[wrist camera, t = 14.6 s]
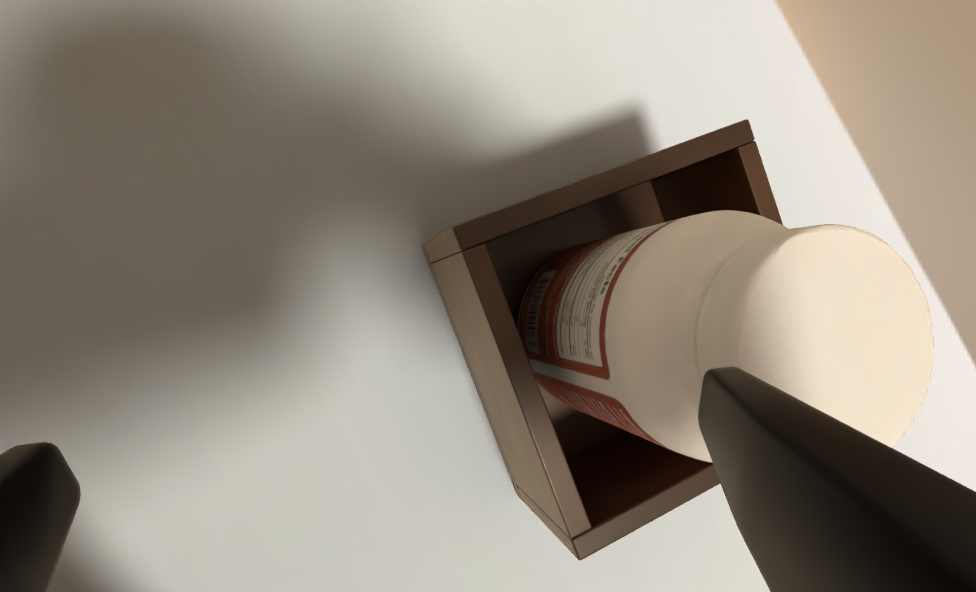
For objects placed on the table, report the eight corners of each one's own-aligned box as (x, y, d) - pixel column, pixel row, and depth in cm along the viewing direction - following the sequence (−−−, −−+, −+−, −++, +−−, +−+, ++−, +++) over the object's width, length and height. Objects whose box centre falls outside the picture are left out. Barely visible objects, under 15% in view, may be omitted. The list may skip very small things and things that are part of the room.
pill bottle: (688, 360, 23) (1007, 413, 12) (556, 438, 21) (783, 579, 10) (624, 216, 22) (900, 133, 11) (484, 286, 20) (647, 268, 10)
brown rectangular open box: (731, 389, 24) (846, 414, 18) (518, 497, 21) (579, 562, 16) (652, 161, 23) (748, 118, 18) (421, 246, 20) (451, 226, 15)
